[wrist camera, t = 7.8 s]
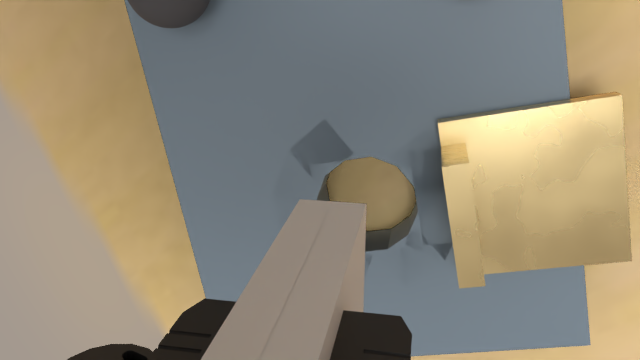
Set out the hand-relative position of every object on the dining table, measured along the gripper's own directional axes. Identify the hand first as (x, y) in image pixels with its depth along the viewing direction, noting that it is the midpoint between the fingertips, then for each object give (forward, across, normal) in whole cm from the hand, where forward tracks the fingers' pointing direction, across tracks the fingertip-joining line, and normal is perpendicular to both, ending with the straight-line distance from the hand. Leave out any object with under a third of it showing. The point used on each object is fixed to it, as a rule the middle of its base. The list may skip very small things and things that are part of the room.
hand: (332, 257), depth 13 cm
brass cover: (+13, +6, -2) cm, 15 cm away
